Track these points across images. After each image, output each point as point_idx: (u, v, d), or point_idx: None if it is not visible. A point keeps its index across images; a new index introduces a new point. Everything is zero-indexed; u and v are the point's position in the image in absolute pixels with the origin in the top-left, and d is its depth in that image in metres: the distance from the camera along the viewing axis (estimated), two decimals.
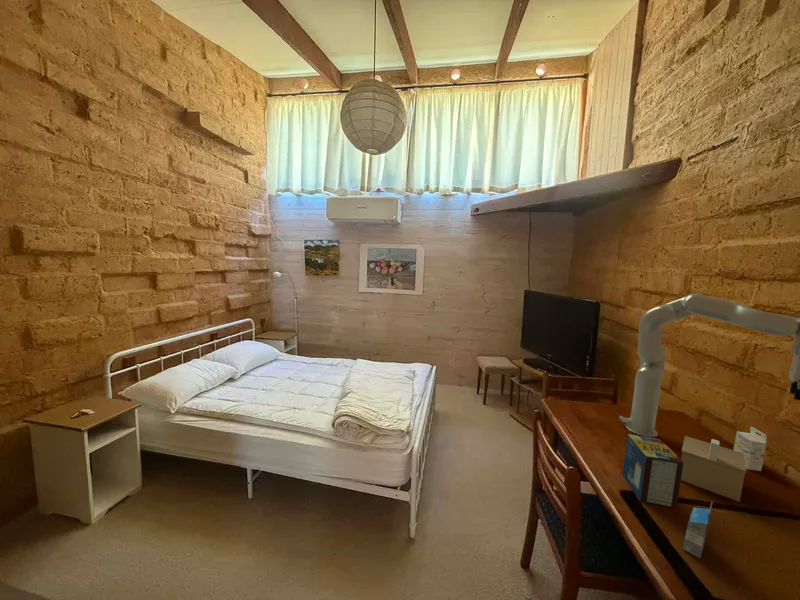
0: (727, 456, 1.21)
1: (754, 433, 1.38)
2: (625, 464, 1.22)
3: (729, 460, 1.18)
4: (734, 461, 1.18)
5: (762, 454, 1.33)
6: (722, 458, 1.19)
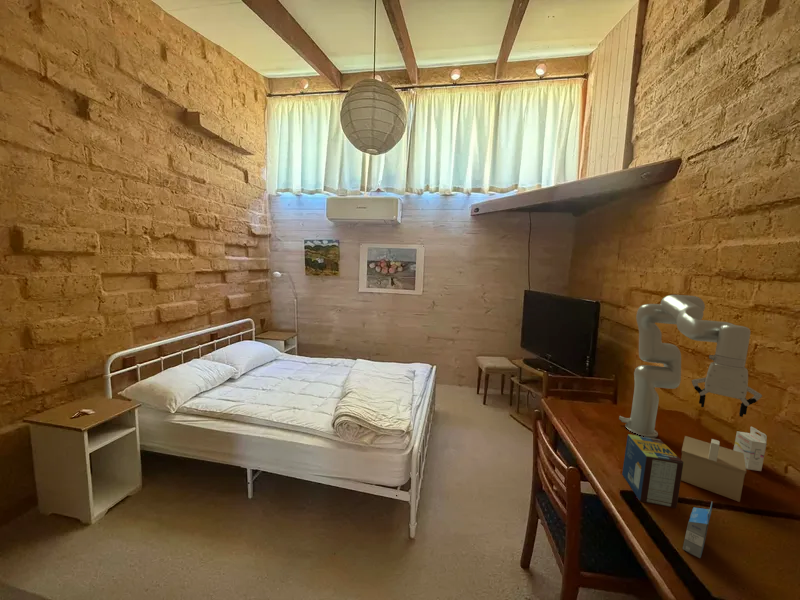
0: (727, 456, 1.21)
1: (754, 433, 1.38)
2: (625, 464, 1.22)
3: (729, 460, 1.18)
4: (734, 461, 1.18)
5: (762, 454, 1.33)
6: (722, 458, 1.19)
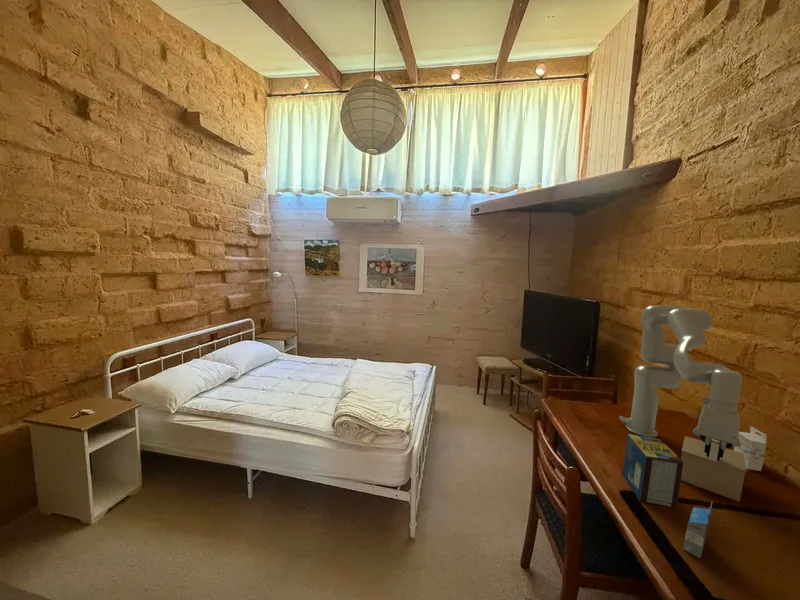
0: (727, 456, 1.21)
1: (754, 433, 1.38)
2: (625, 464, 1.22)
3: (729, 460, 1.18)
4: (734, 461, 1.18)
5: (762, 454, 1.33)
6: (722, 458, 1.19)
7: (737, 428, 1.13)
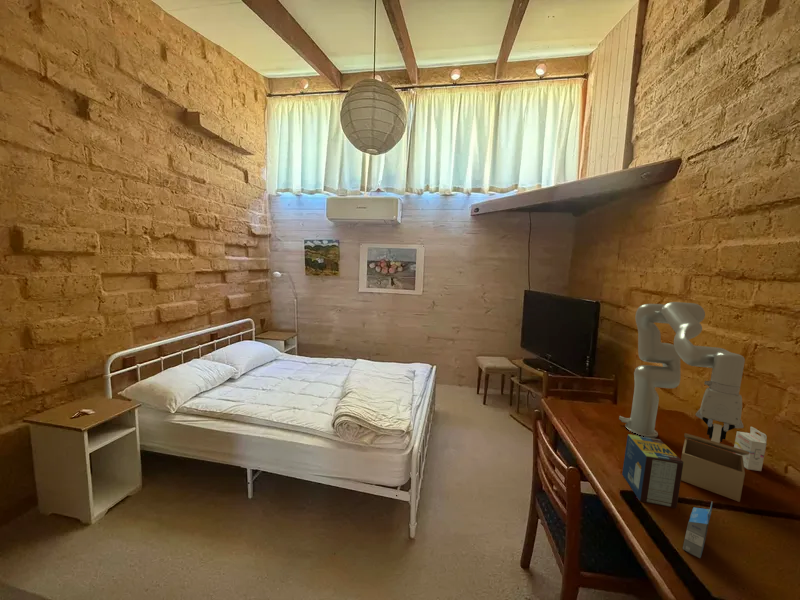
0: None
1: (754, 433, 1.38)
2: (625, 464, 1.22)
3: None
4: None
5: (762, 454, 1.33)
6: None
7: (739, 409, 1.14)
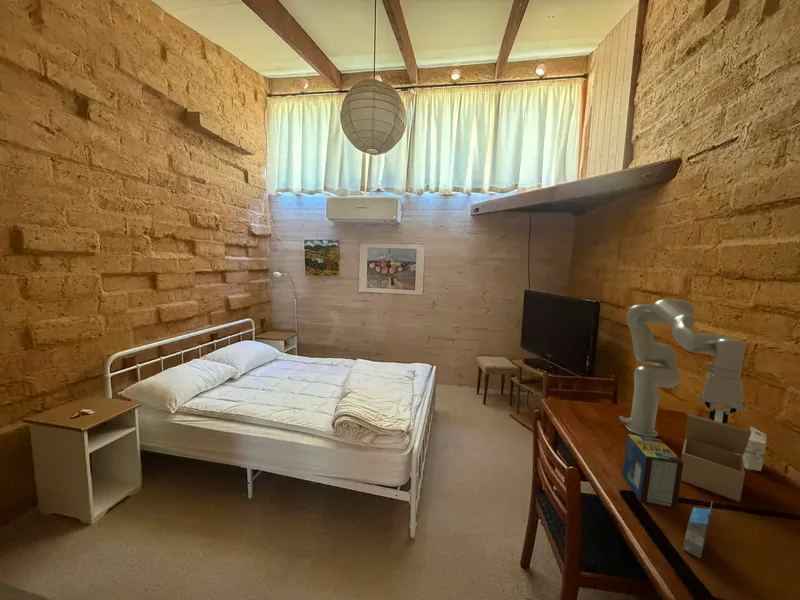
0: None
1: (754, 433, 1.38)
2: (625, 464, 1.22)
3: None
4: None
5: (762, 454, 1.33)
6: None
7: (741, 393, 1.18)
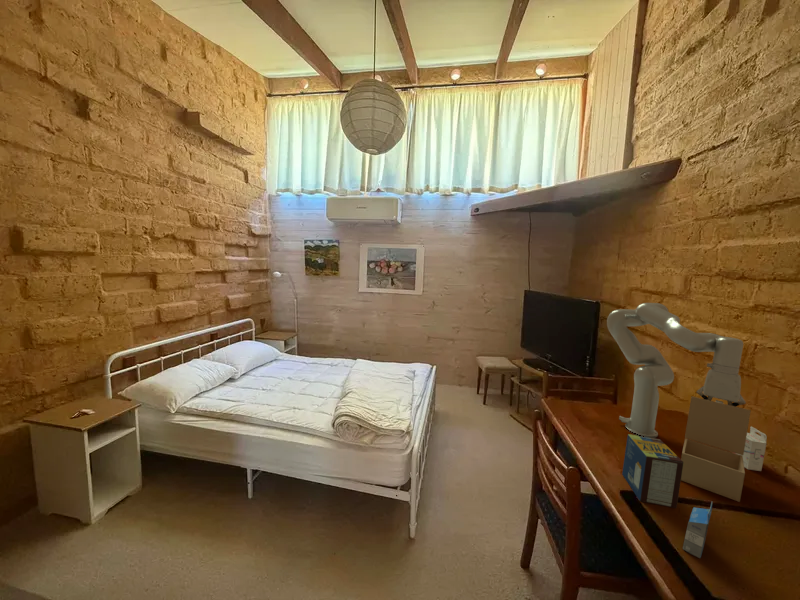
0: None
1: (754, 433, 1.38)
2: (625, 464, 1.22)
3: None
4: None
5: (762, 454, 1.33)
6: None
7: (738, 388, 1.28)
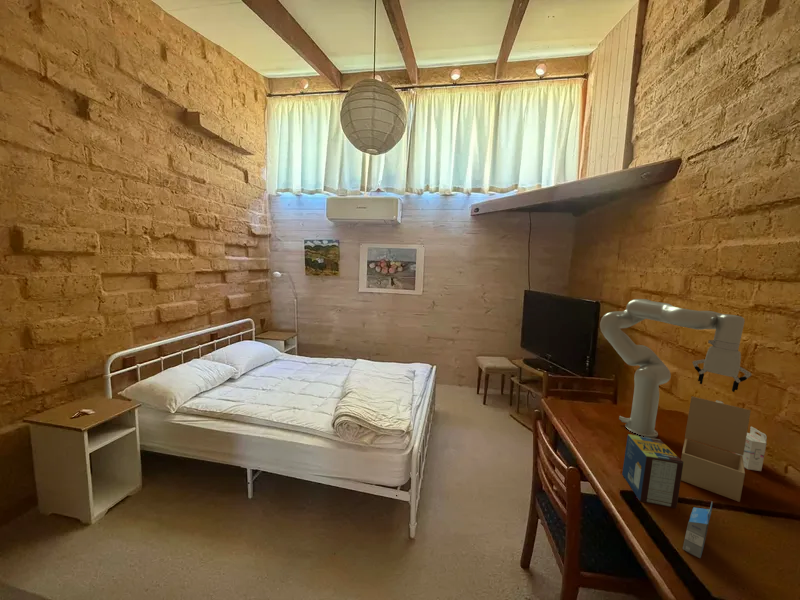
0: None
1: (754, 433, 1.38)
2: (625, 464, 1.22)
3: None
4: None
5: (762, 454, 1.33)
6: None
7: (738, 363, 1.32)
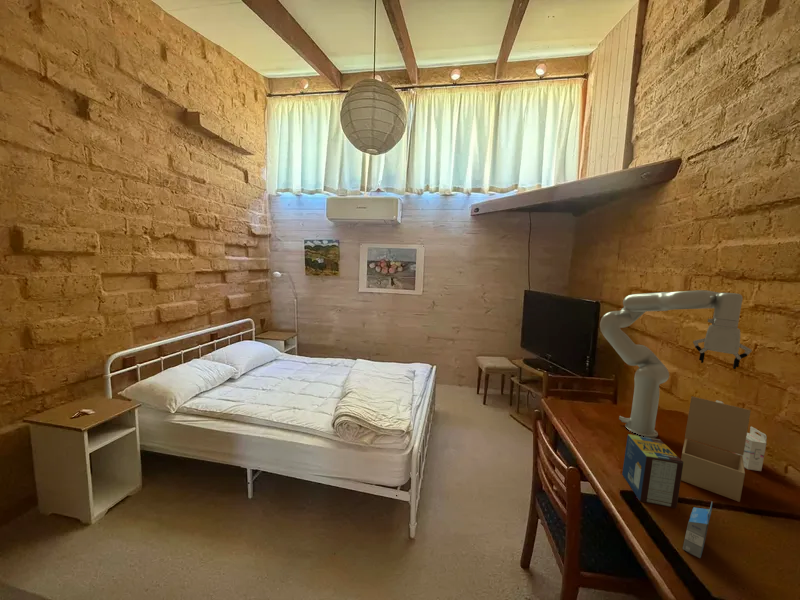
0: None
1: (754, 433, 1.38)
2: (625, 464, 1.22)
3: None
4: None
5: (762, 454, 1.33)
6: None
7: (738, 340, 1.33)
